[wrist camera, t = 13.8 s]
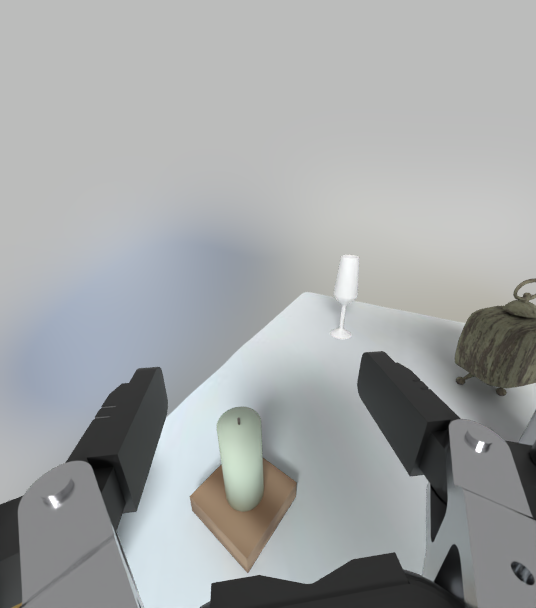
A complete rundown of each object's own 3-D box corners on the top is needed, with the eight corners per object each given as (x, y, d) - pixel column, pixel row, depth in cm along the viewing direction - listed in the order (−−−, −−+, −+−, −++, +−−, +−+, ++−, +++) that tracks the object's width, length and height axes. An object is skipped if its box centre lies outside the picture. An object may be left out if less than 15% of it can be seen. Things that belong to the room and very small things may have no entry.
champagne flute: (327, 336, 77) (335, 257, 68) (331, 327, 83) (339, 253, 73) (350, 341, 74) (361, 260, 65) (353, 331, 80) (364, 255, 71)
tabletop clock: (495, 371, 61) (537, 270, 52) (539, 397, 53) (599, 284, 44) (445, 380, 58) (480, 275, 49) (484, 409, 50) (535, 290, 41)
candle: (243, 464, 37) (237, 395, 32) (271, 485, 34) (269, 414, 29) (217, 494, 33) (206, 422, 28) (246, 521, 30) (239, 447, 25)
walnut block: (243, 455, 41) (242, 442, 40) (295, 496, 36) (296, 482, 34) (192, 510, 34) (189, 496, 33) (247, 573, 28) (246, 558, 27)
